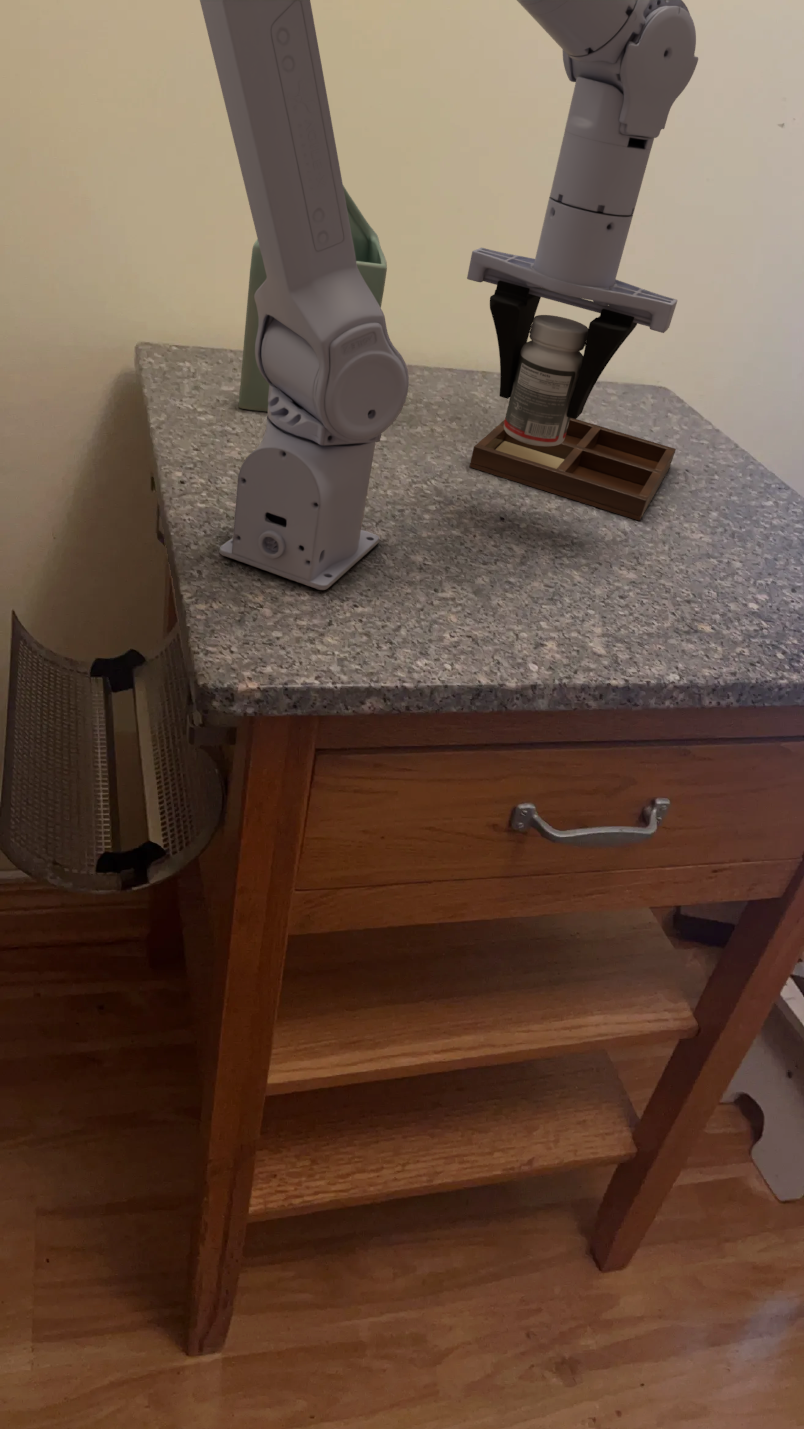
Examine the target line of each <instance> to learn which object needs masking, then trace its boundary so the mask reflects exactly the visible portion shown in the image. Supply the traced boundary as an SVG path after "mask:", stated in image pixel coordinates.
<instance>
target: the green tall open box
mask: <svg viewBox="0 0 804 1429" xmlns="http://www.w3.org/2000/svg"><path fill="white" fill-rule="evenodd" d="M343 189H344V194H345V200H346V206H347V211H348V217H349V223H350V228H351V234H352V240H353V245H354V251H355V257H356V262H357V267H358V270H359V272H360V274H361V275H362V277H363V279H364V281H365V282H366V284H367V286H368V287H369V289H370V291H371V292H372V294H373V296H374V297H375V299H376V301H377V302H378V304H379V306H380V308H381V309H382V304H383V297H384V292H385V286H386V278H387V270H388V264H387V263H388V262H387V259H386V256H385V254H384V252H383V249H382V248H381V243H380V239H379V238H380V237H379V236H378V234H377V233H376V231H375V230H374V229H373V228H372V227H371V225H370V223H369V222H368V221H367V219H366V218H365V216H364V214H363V213H362V212H361V211H360V208H359V207H358V206H357V204H356V203H355V201H354V200H353V198H352V197H351V195H350V193H349V192H348V191H347V189H346V187H345V185H343ZM251 249H252V250H251V258H250V259H251V260H250V268H249V278H248V279H249V280H248V290H247V291H248V292H247V302H246V312H245V313H246V314H245V325H244V326H245V327H244V336H243V346H242V347H243V349H242V360H241V372H240V384H239V385H240V386H239V396H238V408H239V409H241V410H247V411H256V412H257V411H258V412H266V413H268V404H269V403H268V394H269V383H268V382H267V381H266V380H265V379H264V378H263V376H262V375H261V373H260V371H259V368H258V366H257V362H256V357H255V343H256V337H257V332H258V323H259V317H258V311H257V306H256V302H255V298H254V295H255V293H256V291H257V289H258V288H259V287H260V286H261V285H262V284H263V283H264V281H265V280H266V278H267V275H266V271H265V267H264V263H263V259H262V255H261V251H260V246H259V242H258V238H257V239H256V240H255V242H254V244H253V246H252V248H251Z"/></svg>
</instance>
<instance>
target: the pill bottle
mask: <svg viewBox="0 0 804 1429" xmlns="http://www.w3.org/2000/svg"><path fill="white" fill-rule="evenodd" d="M588 328H589V327H588V326H586V324H583V323H581V322H580V321H576V320H574V319H570V318H567V317H562V316H559V315H553V314H551V315H550V314H538V315H535V316H534V319H533V323H532V326H531V329H530V333H529V336H528V338H529V341H527V343H525V344H524V345H523V347H522V349H521V352H520V356H519V360H518V365H517V369H516V374H515V378H514V383H513V387H512V391H511V396H510V397H509V401H508V404H507V409H506V413H505V417H504V420H505V421H504V420H503V421H504V430H505V432H506V433H507V434H508V435H509V436H511V437H513V438H514V439H516V440H518V441H521V442H523V443H526V444H530V445H535V446H544V447H547V446H556V445H559V444H561V443H562V442H563V441H564V439H565V436H566V432H567V429H568V425H569V421H570V417H567V413H568V408H569V404H570V401H571V398H572V395H573V392H574V389H575V386H576V383H577V380H578V377H579V373H580V369H581V365H582V360H583V355H584V354H583V353H582V352H581V351H583V350H585V345H586V340H587V334H588Z"/></svg>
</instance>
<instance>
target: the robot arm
mask: <svg viewBox="0 0 804 1429" xmlns="http://www.w3.org/2000/svg"><path fill="white" fill-rule="evenodd" d="M516 1H517V2H518V4H519V5H520V6H521V7H522V8H523V9H524V10H525V11H526V12H527V13H528V14H529V15H530V16H531V17H532V18H533V19H534V20H535V22H536V23H537V24H538V25H539V26H540V27H541V28H542V29H543V30H544V31H545V32H546V34H548V36H549V37H551V39H552V40H553V41H554V42H555V43H556V44H557V45H558V46H559V47H560V49H562V62H563V68H564V70H565V71H564V72H565V74H566V76H567V78H568V80H569V82H571V83H575V84H574V87H573V92H572V97H571V101H570V105H569V110H568V114H567V119H566V123H565V128H564V132H563V136H562V140H561V145H560V149H559V154H558V157H557V163H556V166H555V171H554V176H553V180H552V185H551V189H550V193H549V197H548V200H547V205H546V210H545V214H544V219H543V222H542V227H541V230H540V231H541V232H540V236H539V240H538V245H537V249H536V253H535V258H533V257H528V256H522V255H517V254H512V253H507V252H502V251H497V250H493V249H489V248H485V247H479V248H476V249H474V250H472V251H471V255H470V261H469V266H468V271H467V275H466V276H467V277H466V279H467V280H469V281H473V282H475V283H483V282H485V283H489V284H491V285H495V286H496V288H495V290H494V294H491V295H490V297H489V310H490V313H491V316H492V321H493V324H494V329H495V334H496V338H497V345H498V346H497V347H498V356H499V373H500V374H499V375H500V376H499V378H500V381H499V382H500V383H499V394H498V395H499V396H498V397H501V398H504V399H510V396H511V391H512V387H513V383H514V378H515V374H516V369H517V365H518V360H519V356H520V352H521V349H522V347H523V345H524V344H525V343H527V342H528V340H529V336H530V330H531V326H532V323H533V319H534V317H535V316H536V313H537V310H538V307H539V304H540V301H541V299H542V298H543V299H547V300H551V301H554V302H557V303H561V304H564V305H569V306H572V307H576V308H580V309H583V310H587V311H591V312H593V313H598V314H599V316H598V317H595V318H593V320H591V321H590V322H589V324H588V327H587V328H588V334H587V340H586V345H585V346H584V349H583V350H584V351H583V354H582V355H583V360H582V365H581V369H580V373H579V377H578V380H577V383H576V386H575V389H574V392H573V395H572V398H571V401H570V404H569V408H568V413H567V417H570V418H573V419H578V418H579V417H580V415H582V413H583V411H584V409H585V406H586V403H587V401H588V399H589V397H590V394H591V392H592V391H593V389H594V387H595V386H596V383H597V382H598V380H599V379H600V376H601V375H602V373H603V372H604V370H605V368H606V367H607V366H608V364H609V363H610V361H611V360H612V358H613V357H614V355H615V354H616V353H617V351H618V350H619V349H620V347H621V346H622V344H623V343H624V342H625V341H626V339H628V337H629V336H630V335H631V334H632V332H633V331H634V330H635V329H636V327H637V326H638V325H641V326H645V327H649V329H650V330H651V331H655V332H658V333H661V334H665V333H666V332H667V331H668V329H669V328H670V327H671V323H672V319H673V317H674V314H675V310H676V307H677V303H678V299H676V298H672V297H669V296H666V295H662V294H659V293H656V292H653V291H650V290H647V289H645V288H642V287H638V286H636V285H633V284H630V283H627V282H624V281H622V280H618V279H617V275H618V272H619V268H620V264H621V261H622V257H623V254H624V250H625V246H626V242H627V238H628V235H629V232H630V229H631V224H632V221H633V217H634V213H635V209H636V207H637V202H638V198H639V196H640V191H641V187H642V185H643V181H644V176H645V173H646V169H647V167H648V166H647V165H648V162H649V159H650V155H651V152H652V148H653V144H654V141H655V139H657V138H658V137H659V136H660V134H661V131H662V130H665V127H666V125H667V121H668V118H669V114H670V110H671V108H672V106H673V104H674V103H675V101H677V99H678V98H679V96H681V95H682V93H683V92H684V90H686V87H687V86H688V84H689V83H690V81H691V79H692V78H693V75H694V72H695V70H696V68H697V65H698V63H699V62H698V61H699V57H698V56H696V55H695V53H696V45H697V32H696V27H695V26H696V25H695V22H694V20H693V18H692V16H691V14H690V10H689V8H688V6H687V5H686V3H685V1H683V0H516ZM199 2H200V7H201V11H202V15H203V19H204V23H205V27H206V31H207V35H208V40H209V44H210V48H211V52H212V57H213V61H214V65H215V68H216V73H217V76H218V81H219V85H220V89H221V93H222V98H223V102H224V106H225V110H226V114H227V118H228V122H229V127H230V132H231V134H232V139H233V143H234V148H235V151H236V155H237V159H238V164H239V169H240V172H241V176H242V181H243V184H244V188H245V192H246V196H247V201H248V205H249V210H250V213H251V217H252V222H253V226H254V230H255V234H256V238H257V239H258V242H259V246H260V251H261V255H262V259H263V263H264V267H265V271H266V275H267V278H266V280H265V281H264V283H263V284H262V285H261V286H260V287H259V288H258V289H257V291H256V293H255V295H254V298H255V302H256V306H257V311H258V317H259V323H258V332H257V337H256V343H255V357H256V362H257V366H258V368H259V371H260V373H261V375H262V376H263V378H264V379H265V380H266V381H267V382H268V383H269V394H268V403H269V404H268V412H267V416H266V424H265V430H264V432H263V436H262V439H261V440H260V442H259V444H258V445H257V446H256V448H255V449H254V450H252V451H251V452H250V453H249V454H248V455H247V457H245V459H244V460H243V462H242V463H241V466H240V469H239V471H238V476H237V487H236V498H235V509H234V519H233V522H234V523H233V531H232V532H233V534H232V538H230V539H229V540H227V541H226V542H224V543H223V544H222V545H220V546H219V549H218V550H219V554H220V555H221V556H223V557H226V558H229V559H231V560H235V561H237V562H240V563H243V564H246V565H248V566H251V567H254V568H256V569H260V570H262V571H265V572H268V573H270V574H273V575H276V576H279V577H281V578H285V579H287V580H290V581H293V582H296V583H298V584H302V585H305V586H307V587H311V588H313V589H316V590H318V591H327V589H329V588H330V587H331V586H332V585H334V584H335V583H336V582H337V581H338V580H339V579H340V578H341V577H342V576H344V575H345V574H346V573H347V572H348V571H349V570H351V568H352V567H353V566H355V565H356V564H357V563H358V562H359V561H360V560H361V559H362V558H363V557H365V556H366V555H367V554H368V553H369V552H370V551H372V549H374V548H375V547H376V546H377V545H378V544H379V542H380V536H379V535H377V534H376V533H373V532H370V531H367V530H364V529H362V528H363V521H364V516H365V510H366V502H367V498H368V492H369V491H368V490H369V485H370V478H371V473H372V467H373V461H374V454H375V448H376V443H379V442H381V438H382V434H383V433H384V432H385V431H387V430H388V429H389V428H390V426H391V425H393V424H394V422H395V421H396V420H397V419H398V417H399V415H400V413H401V412H402V410H403V409H404V405H405V403H406V401H407V397H408V393H409V386H410V384H409V383H410V378H409V370H408V367H407V363H406V361H405V359H404V357H403V355H402V354H401V353H400V352H399V350H398V348H396V347H395V345H394V344H393V342H392V341H391V338H390V335H389V333H388V328H387V323H386V317H385V314H384V311H383V309H382V307H381V308H380V306H379V304H378V302H377V301H376V299H375V297H374V296H373V294H372V292H371V291H370V289H369V287H368V286H367V284H366V282H365V281H364V279H363V277H362V275H361V274H360V272H359V270H358V267H357V262H356V257H355V251H354V245H353V240H352V234H351V228H350V223H349V217H348V211H347V206H346V200H345V194H344V189H343V186H344V183H343V178H342V173H341V167H340V161H339V156H338V149H337V145H336V139H335V138H336V137H335V133H334V127H333V122H332V121H333V120H332V116H331V110H330V105H329V99H328V94H327V89H326V88H327V86H326V82H325V76H324V71H323V66H322V65H323V64H322V61H321V54H320V53H321V52H320V48H319V42H318V37H317V30H316V25H315V19H314V14H313V8H312V4H311V0H199Z"/></svg>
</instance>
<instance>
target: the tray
mask: <svg viewBox="0 0 804 1429" xmlns="http://www.w3.org/2000/svg"><path fill="white" fill-rule="evenodd" d="M504 421H505V419H503V421H501V422H500V423H499V424H498V425H497V426H495V427H494V428H493V429H492V430H490V432H489V433H488V434H487V435H485V437H483V438H482V439H481V440H479V441H478V443H476V444H474V446H473V450H472V455H471V459H470V463H469V468H472V469H474V470H478V471H482V472H484V473H488V474H491V475H494V476H497V477H500V478H504V479H506V480H509V481H512V482H516V483H519V484H522V485H525V486H528V487H532V488H534V489H538V490H540V491H544V492H547V493H551V494H553V495H557V496H560V497H563V498H566V499H570V500H573V501H576V502H579V503H582V504H585V505H589V506H591V507H594V508H598V509H601V510H604V511H607V512H611V513H613V514H616V515H620V516H622V517H626V518H629V519H632V520H635V521H639V522H640V521H641V519H642V518H643V516H644V514H645V512H646V511H647V509H648V507H649V505H650V503H651V501H652V500H653V498H654V496H655V495H656V493H657V491H658V489H659V487H660V486H661V484H662V482H663V481H664V478H665V477H666V475H667V473H668V471H669V470H670V468H671V465H672V462H673V459H674V456H675V453H676V450H677V449H676V448H674V447H671V446H668V445H664V444H661V443H658V442H654V441H651V440H648V439H644V438H641V437H637V436H634V435H631V434H627V433H624V432H621V431H618V430H615V429H612V428H611V429H610V428H608V427H604V426H601V425H598V424H594V423H591V422H587V421H585V420H581V419H578V418H577V419H573V418H570V421H569V425H568V429H567V432H566V436H565V439H564V441H563V442H562V443H561V444H559V445H556V446H547V447H544V446H535V445H530V444H526V443H523V442H521V441H518V440H516V439H514V438H513V437H511V436H509V435H508V434H507V433H506V432H505V430H504Z"/></svg>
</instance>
